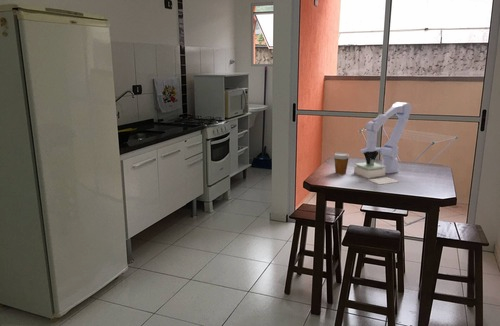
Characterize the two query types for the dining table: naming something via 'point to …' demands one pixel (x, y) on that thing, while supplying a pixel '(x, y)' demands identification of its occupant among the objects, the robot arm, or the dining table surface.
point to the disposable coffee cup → (341, 162)
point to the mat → (383, 180)
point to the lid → (370, 165)
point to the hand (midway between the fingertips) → (370, 163)
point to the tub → (369, 172)
